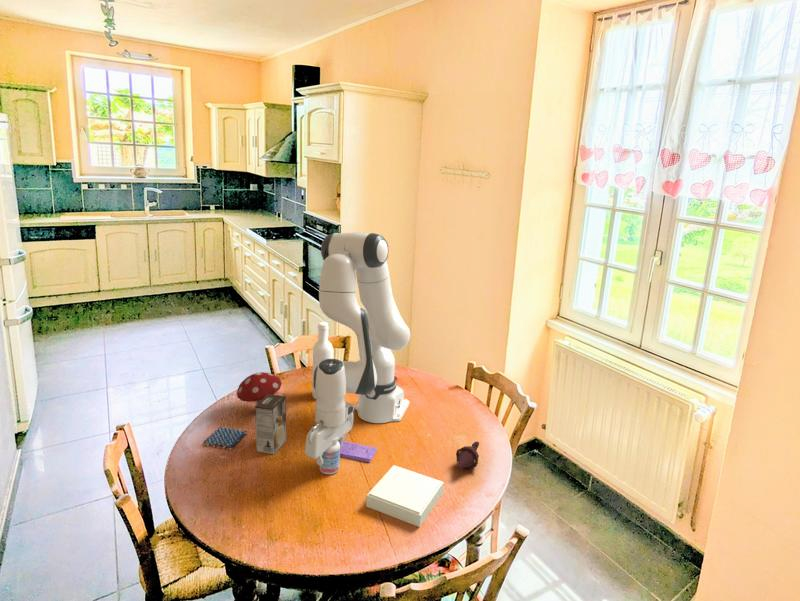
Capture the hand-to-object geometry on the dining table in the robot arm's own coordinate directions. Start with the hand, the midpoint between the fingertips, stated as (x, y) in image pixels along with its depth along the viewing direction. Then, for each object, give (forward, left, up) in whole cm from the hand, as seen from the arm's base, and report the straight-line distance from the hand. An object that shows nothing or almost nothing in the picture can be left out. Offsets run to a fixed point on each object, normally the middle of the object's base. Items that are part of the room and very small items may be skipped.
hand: (329, 455), depth 152 cm
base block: (+1, +26, -5) cm, 27 cm away
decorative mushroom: (-16, -41, -5) cm, 44 cm away
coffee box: (-1, -23, -5) cm, 24 cm away
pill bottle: (0, 0, -5) cm, 5 cm away
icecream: (-23, +36, -5) cm, 43 cm away
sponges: (-11, +2, -5) cm, 13 cm away
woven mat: (+4, -38, -5) cm, 39 cm away
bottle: (-38, -29, -5) cm, 48 cm away
